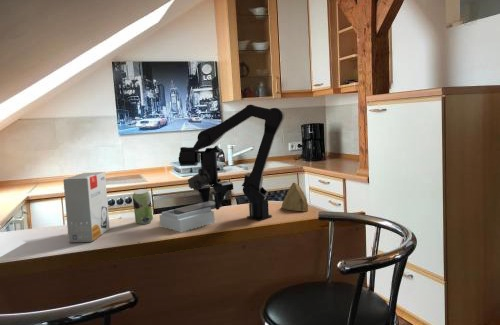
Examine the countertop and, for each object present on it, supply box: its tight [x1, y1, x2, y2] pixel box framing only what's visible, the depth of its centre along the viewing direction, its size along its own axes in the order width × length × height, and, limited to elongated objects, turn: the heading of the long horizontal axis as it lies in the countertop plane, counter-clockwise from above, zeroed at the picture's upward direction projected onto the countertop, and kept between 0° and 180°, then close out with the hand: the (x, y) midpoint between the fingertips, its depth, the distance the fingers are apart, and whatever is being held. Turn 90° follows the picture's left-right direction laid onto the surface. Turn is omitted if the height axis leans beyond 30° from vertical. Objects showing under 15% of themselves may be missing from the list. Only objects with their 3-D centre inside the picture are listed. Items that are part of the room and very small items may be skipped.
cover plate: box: [174, 200, 223, 215], centre depth 146 cm, size 6×16×2 cm, turn 134°
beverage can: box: [132, 188, 154, 225], centre depth 147 cm, size 6×7×12 cm
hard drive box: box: [63, 171, 111, 243], centre depth 134 cm, size 16×8×20 cm, turn 179°
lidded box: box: [159, 203, 215, 233], centre depth 142 cm, size 12×14×5 cm
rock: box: [280, 182, 309, 212], centre depth 156 cm, size 11×9×10 cm
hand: (211, 208), depth 150 cm, fingers closed on cover plate, 6 cm apart
